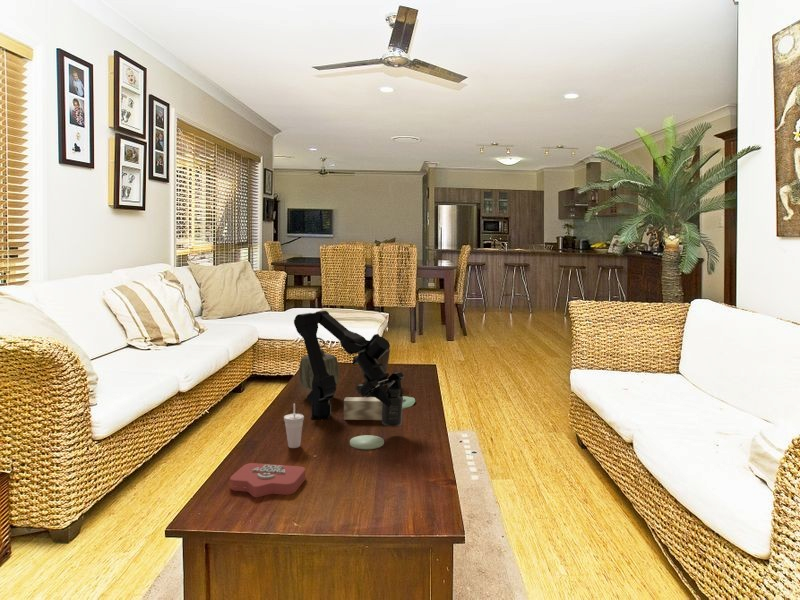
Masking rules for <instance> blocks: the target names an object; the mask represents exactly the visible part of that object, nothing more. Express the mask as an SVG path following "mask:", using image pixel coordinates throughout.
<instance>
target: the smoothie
mask: <svg viewBox="0 0 800 600" xmlns="http://www.w3.org/2000/svg"><path fill="white" fill-rule="evenodd" d="M292 404H293V407H292V408H293V413H290V414H288V413H287V414H286V415H284V416H283V421H284V425H285V430H286V438H287V447H289V448H290V449H297V448H299V447H301V441H302V433H303V424H304V420H305V416H304V415H303V414H302V413H296V403H292Z"/></svg>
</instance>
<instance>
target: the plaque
mask: <svg viewBox="0 0 800 600" xmlns="http://www.w3.org/2000/svg"><path fill="white" fill-rule="evenodd" d="M304 481H306V468H305V467H304V466H298V465H297V466H296V465H287V464H283V465H282V464H270V463H255V462H249V463H246V464H244V465H242V466H241V467H240V468H239V469H238V470H237V471H236V472H235V473H233V474H232V475H231V476H230V477H229V482H230V483H229V485H230V484H231V485H232V486H231V485H230V490H231V491H233V492H236V491H237V492H247V493H249V494H250V495H251V496H252V497H253V498H259V497H264V496H267V495H272V494H273V495H285V496H287V495H292V494H295V493H296V492H297V491H298V489H299V488H300V486H302V484H303V483H304ZM233 486H237V487H233ZM243 487H246V488H243ZM250 490H251V491H250Z"/></svg>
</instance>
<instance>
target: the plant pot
mask: <svg viewBox="0 0 800 600" xmlns="http://www.w3.org/2000/svg"><path fill="white" fill-rule="evenodd" d="M365 350H366V349H365ZM363 352H364V351H363ZM390 352H391V349H390V348H389V349H388V350H387V351H386V352H385V353H384V354H383V355H382V356H381V357H380V358H379V359H376V361H377V362H378V364H381V363H382V365H383V366H382V367H381V368H382V369H383V371H384V372H385V374H386V373H387V370H388V365H389V364H388V363H389V361H390V360H389V359H390V354H391V353H390ZM360 353H361V352H359V353H357V356H358V355H359V354H360ZM360 371H361V374H362V377H363V380H364V381H365V378H364V376H363V375H364V374H365V373H364V371H363V370H362V368H361V367H360Z"/></svg>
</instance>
